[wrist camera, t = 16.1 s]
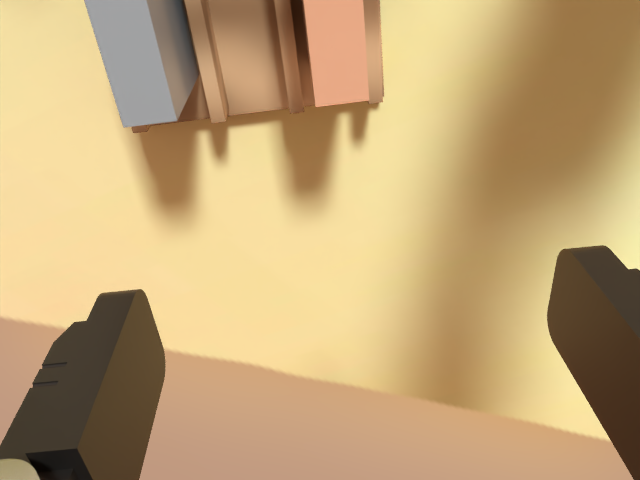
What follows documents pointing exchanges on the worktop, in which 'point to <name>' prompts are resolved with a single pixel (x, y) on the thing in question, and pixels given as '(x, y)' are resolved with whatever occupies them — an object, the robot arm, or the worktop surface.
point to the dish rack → (259, 58)
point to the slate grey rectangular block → (145, 57)
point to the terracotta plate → (336, 50)
